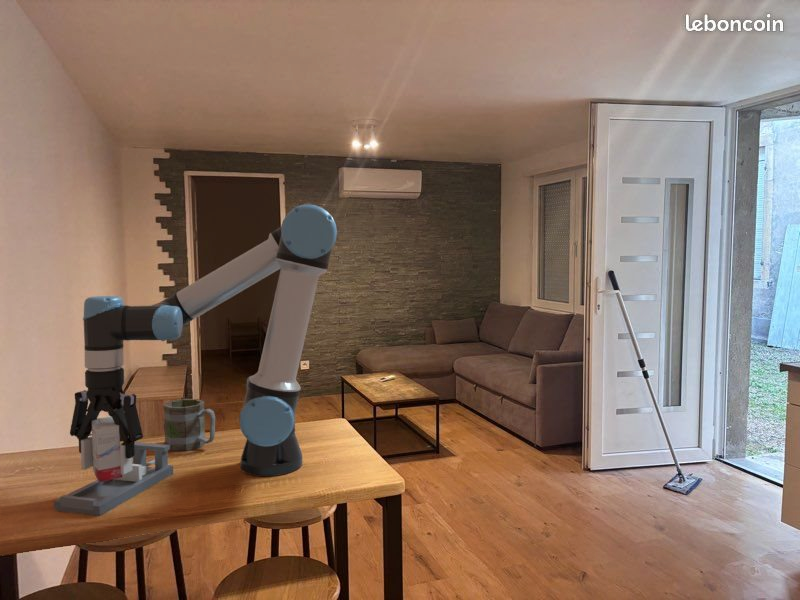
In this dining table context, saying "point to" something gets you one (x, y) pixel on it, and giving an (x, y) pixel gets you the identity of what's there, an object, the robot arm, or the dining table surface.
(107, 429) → the ink box
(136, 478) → the pusher
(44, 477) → the dining table surface
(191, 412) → the mug
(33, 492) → the dining table surface
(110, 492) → the lane
